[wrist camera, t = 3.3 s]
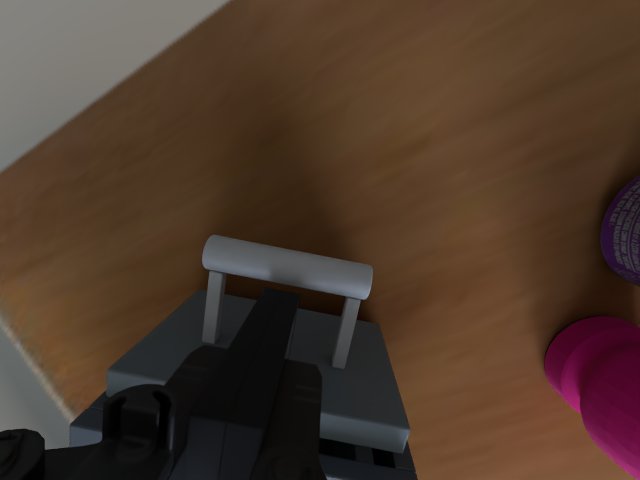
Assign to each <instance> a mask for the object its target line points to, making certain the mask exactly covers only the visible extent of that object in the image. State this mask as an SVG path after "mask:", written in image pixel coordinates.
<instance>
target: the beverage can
mask: <svg viewBox="0 0 640 480" xmlns="http://www.w3.org/2000/svg"><path fill="white" fill-rule="evenodd" d="M601 248H602V252H603V255H604V257H605V260H606V261H607V263H608V265H609V266H610V268H611V269H612V270H613V271H614V272H615V273H616V274H617V275H618V276H620V277H621V278H622V279H624V280H626V281H628V282H630V283H632V284H635V285H638V286H640V176H638V177H636V178H635V179H634V180H632V181H631V182H630V183H629V184H627V185H626V186H625V187H624V188H623V189H622V190H621V191H620V192H619V193H618V195H617V196H616V197H615V199H614V200H613V201H612V203H611V205H610V206H609V208H608V210H607V212H606V214H605V217H604V220H603V223H602V228H601Z"/></svg>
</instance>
